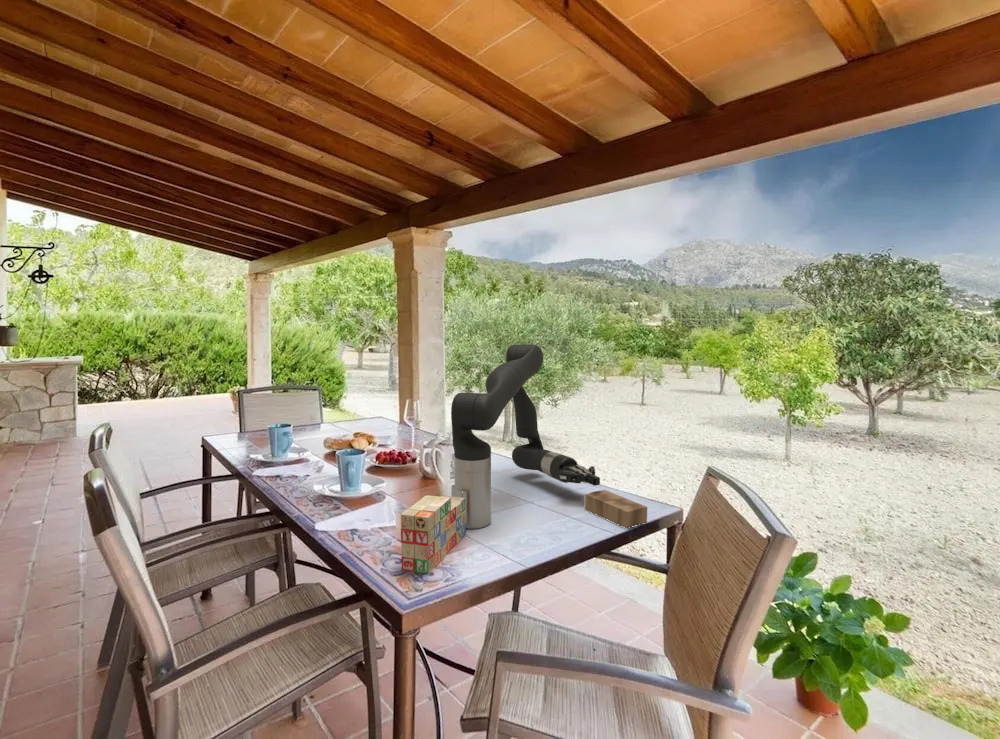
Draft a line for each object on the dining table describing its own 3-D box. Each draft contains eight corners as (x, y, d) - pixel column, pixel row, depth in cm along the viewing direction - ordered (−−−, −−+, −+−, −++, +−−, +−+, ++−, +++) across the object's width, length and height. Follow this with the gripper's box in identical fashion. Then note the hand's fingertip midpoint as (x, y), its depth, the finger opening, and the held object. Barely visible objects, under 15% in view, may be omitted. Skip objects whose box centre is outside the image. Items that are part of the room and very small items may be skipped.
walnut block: (584, 509, 147) (626, 529, 134) (584, 493, 147) (627, 512, 133) (603, 505, 151) (646, 524, 137) (604, 489, 151) (647, 506, 137)
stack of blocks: (442, 531, 132) (442, 482, 131) (466, 534, 130) (466, 485, 129) (401, 570, 112) (400, 513, 111) (428, 575, 110) (428, 516, 109)
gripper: (541, 457, 158) (579, 471, 144) (576, 451, 165) (616, 464, 150) (540, 482, 159) (578, 499, 144) (576, 475, 166) (615, 491, 151)
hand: (597, 481), depth 147 cm, fingers closed
